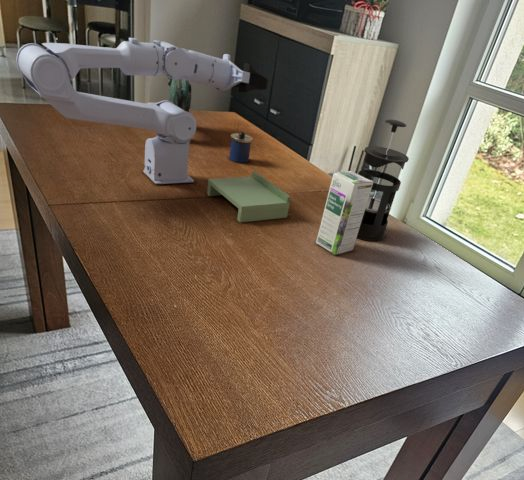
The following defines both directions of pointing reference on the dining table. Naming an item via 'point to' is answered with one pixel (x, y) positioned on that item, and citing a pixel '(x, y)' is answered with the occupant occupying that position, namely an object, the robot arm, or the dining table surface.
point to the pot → (240, 147)
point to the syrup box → (343, 211)
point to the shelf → (252, 197)
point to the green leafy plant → (180, 93)
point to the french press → (380, 187)
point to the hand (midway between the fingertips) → (255, 83)
